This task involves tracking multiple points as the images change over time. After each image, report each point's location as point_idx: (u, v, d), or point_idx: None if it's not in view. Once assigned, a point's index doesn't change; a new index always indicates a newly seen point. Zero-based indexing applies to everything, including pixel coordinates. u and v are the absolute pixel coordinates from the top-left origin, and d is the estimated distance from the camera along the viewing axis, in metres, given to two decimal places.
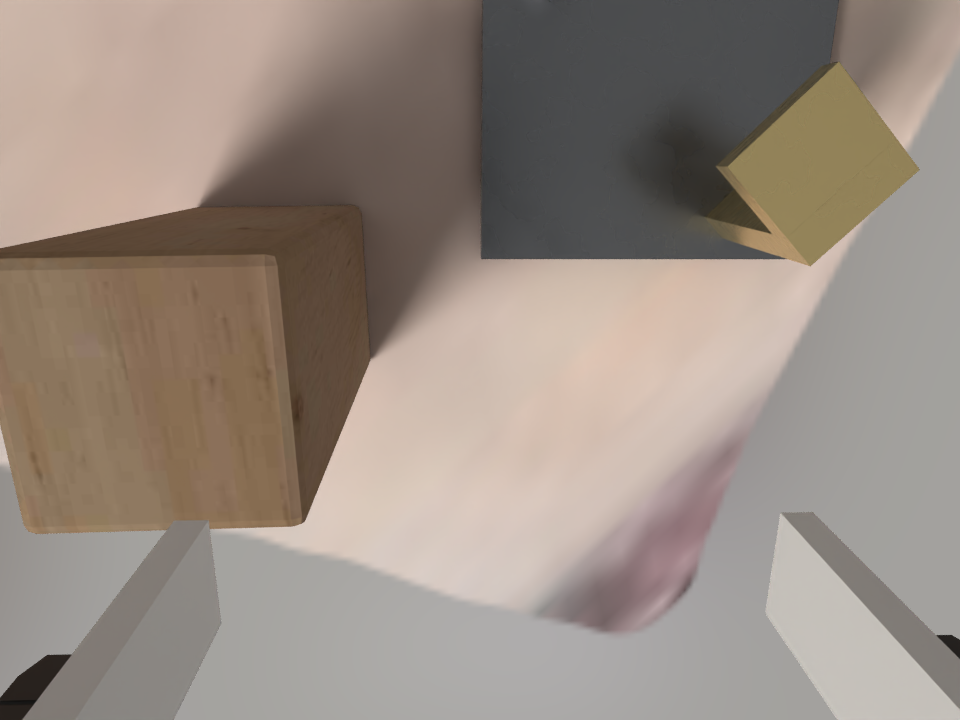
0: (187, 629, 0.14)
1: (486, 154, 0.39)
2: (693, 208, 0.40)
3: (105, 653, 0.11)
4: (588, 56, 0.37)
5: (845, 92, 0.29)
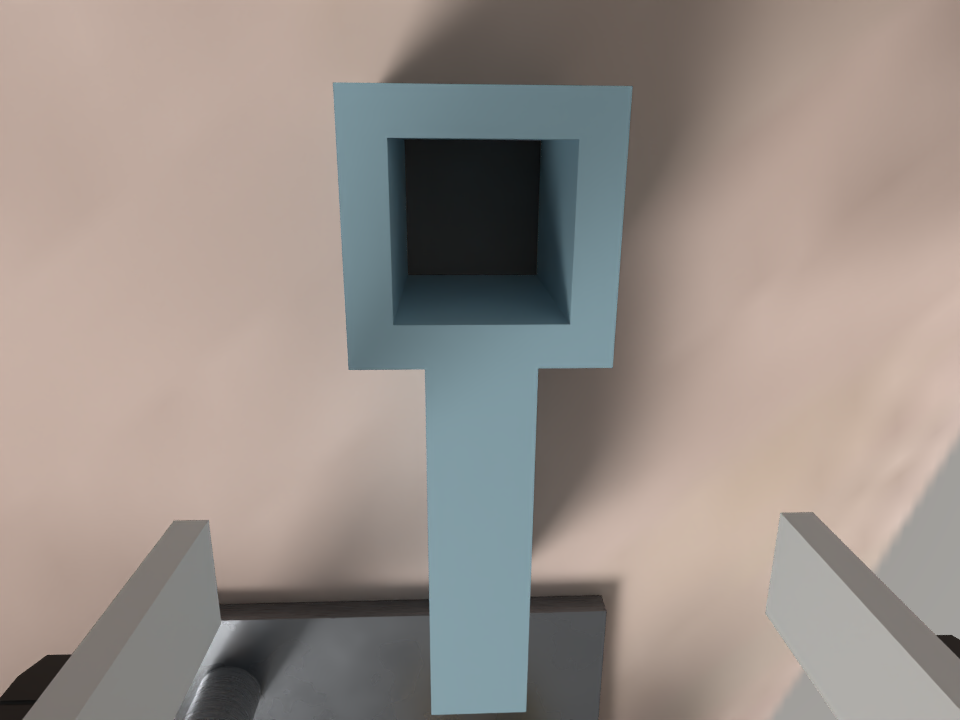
0: (187, 629, 0.14)
1: None
2: None
3: (105, 653, 0.11)
4: None
5: None
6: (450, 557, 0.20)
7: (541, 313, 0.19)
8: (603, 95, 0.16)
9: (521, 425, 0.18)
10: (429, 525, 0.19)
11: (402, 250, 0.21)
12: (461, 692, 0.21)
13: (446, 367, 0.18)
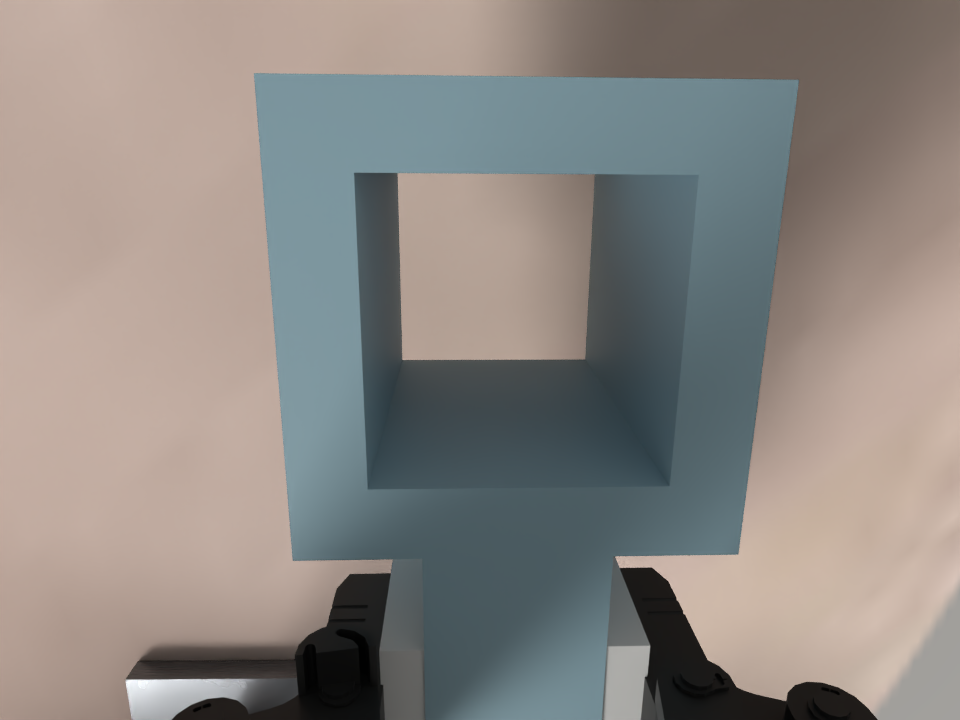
0: None
1: None
2: None
3: (418, 567, 0.13)
4: None
5: None
6: None
7: (613, 454, 0.12)
8: (745, 97, 0.09)
9: (581, 645, 0.11)
10: None
11: (391, 336, 0.14)
12: None
13: (458, 554, 0.11)
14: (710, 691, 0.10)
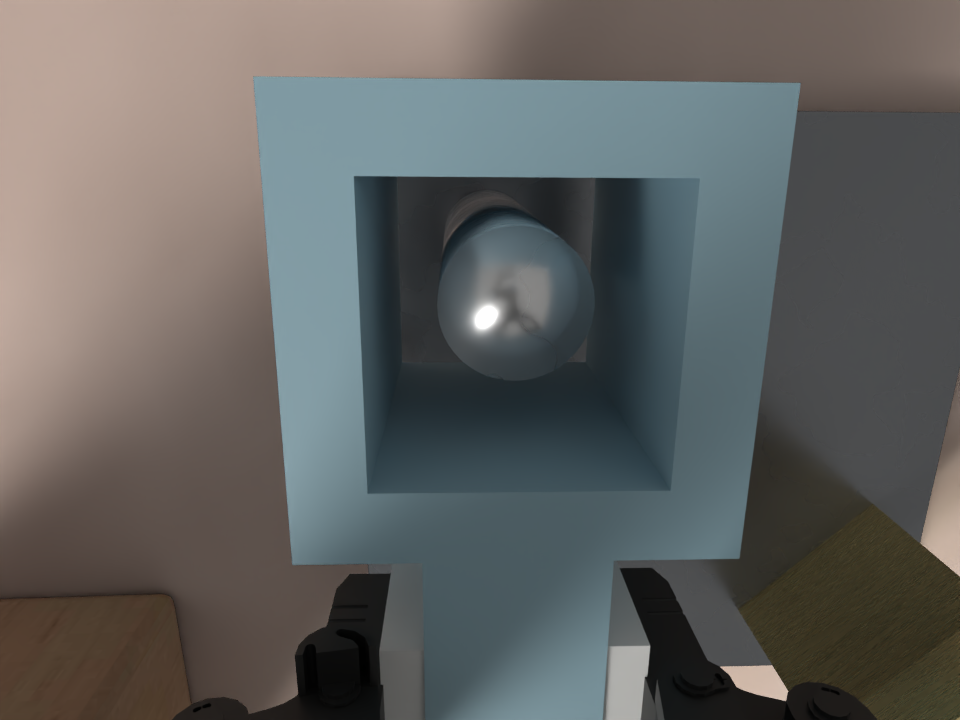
0: None
1: None
2: (720, 598, 0.24)
3: (418, 567, 0.13)
4: None
5: None
6: None
7: (614, 457, 0.11)
8: (747, 100, 0.09)
9: (582, 649, 0.11)
10: None
11: (391, 339, 0.14)
12: None
13: (458, 559, 0.11)
14: (710, 691, 0.10)
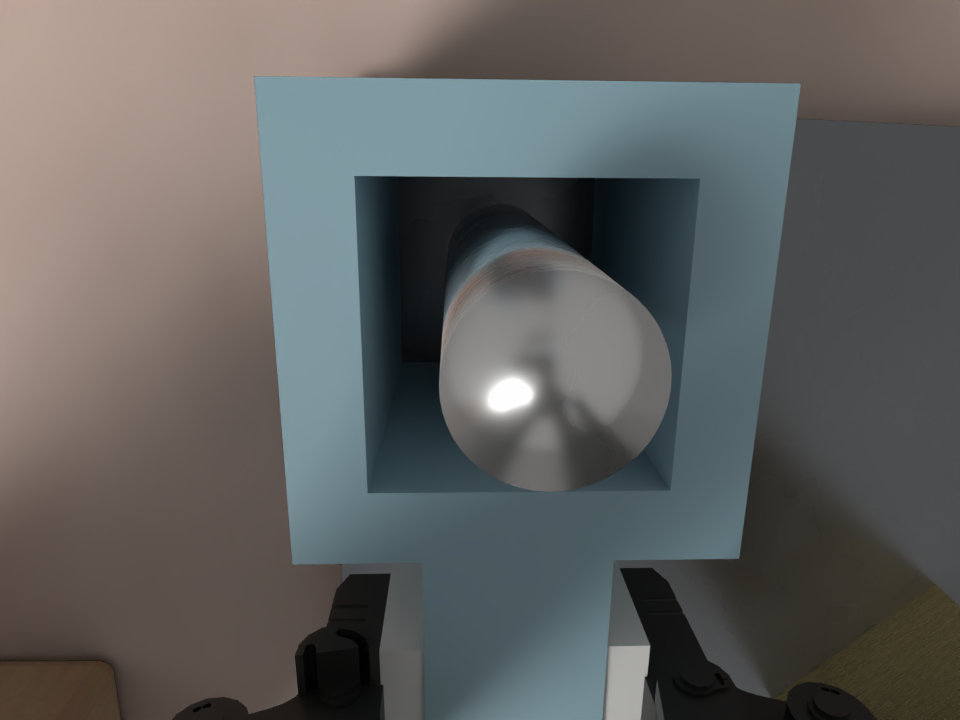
0: None
1: None
2: (752, 685, 0.21)
3: (418, 567, 0.13)
4: None
5: None
6: None
7: None
8: (747, 100, 0.09)
9: (582, 649, 0.11)
10: None
11: (391, 338, 0.14)
12: None
13: (458, 559, 0.11)
14: (710, 691, 0.10)
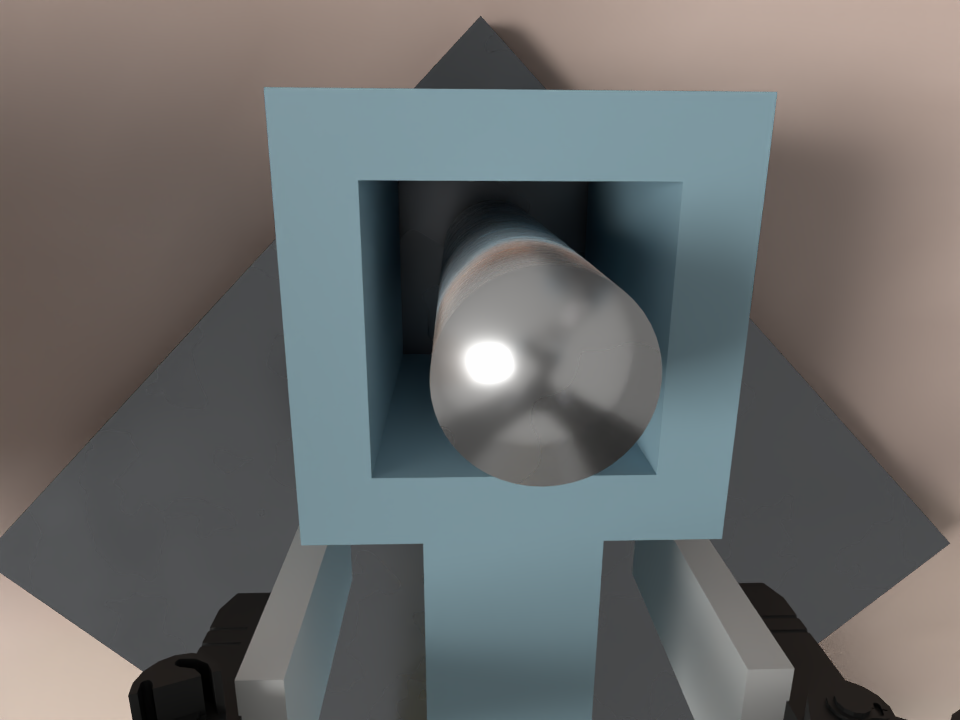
0: (338, 578, 0.15)
1: (119, 422, 0.18)
2: None
3: (301, 587, 0.13)
4: None
5: None
6: None
7: None
8: (727, 108, 0.09)
9: (573, 625, 0.12)
10: None
11: (392, 331, 0.15)
12: None
13: (457, 539, 0.11)
14: (867, 719, 0.10)
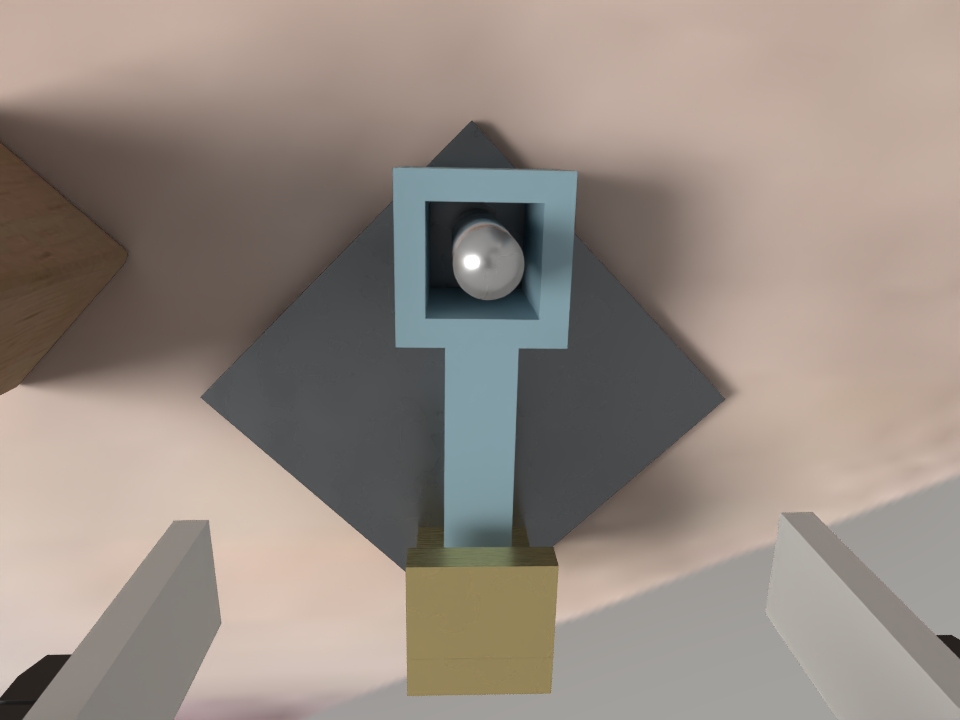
0: (187, 629, 0.14)
1: (281, 321, 0.34)
2: (415, 513, 0.37)
3: (105, 653, 0.11)
4: None
5: (544, 592, 0.27)
6: (459, 477, 0.29)
7: (521, 313, 0.28)
8: (559, 177, 0.26)
9: (506, 386, 0.28)
10: (445, 454, 0.29)
11: (428, 270, 0.31)
12: None
13: (459, 347, 0.28)
14: None
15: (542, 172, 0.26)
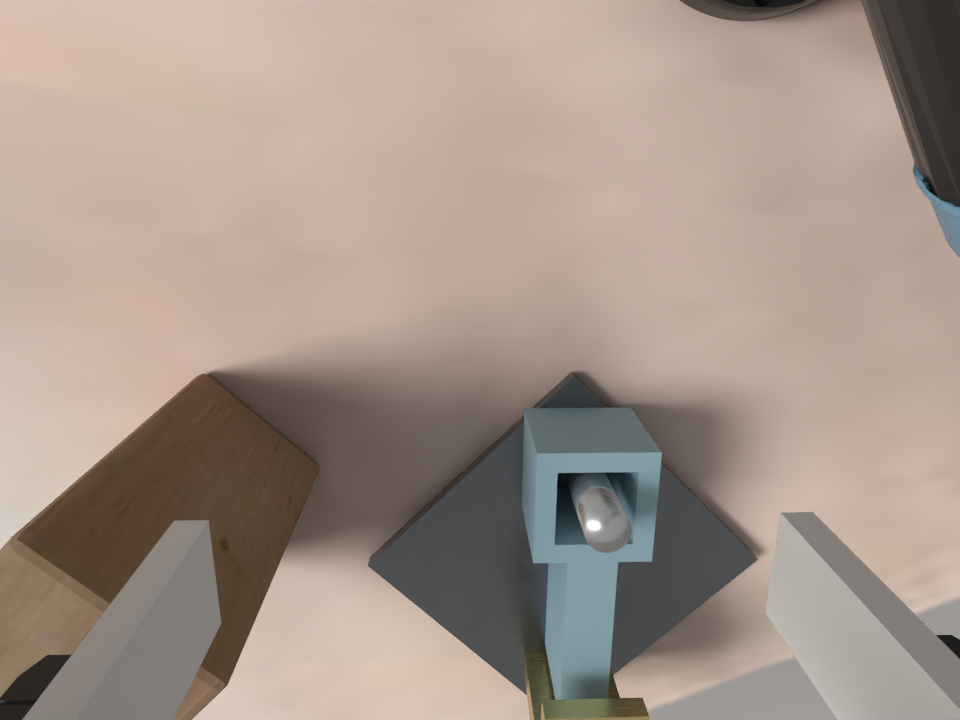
0: (187, 629, 0.14)
1: (430, 513, 0.46)
2: (522, 643, 0.50)
3: (105, 653, 0.11)
4: None
5: None
6: (573, 644, 0.41)
7: None
8: (649, 456, 0.38)
9: (609, 586, 0.40)
10: (564, 630, 0.41)
11: None
12: None
13: (576, 561, 0.40)
14: None
15: (638, 453, 0.38)
